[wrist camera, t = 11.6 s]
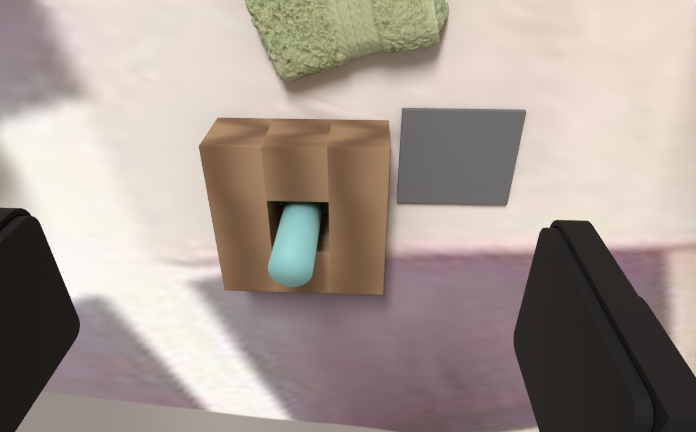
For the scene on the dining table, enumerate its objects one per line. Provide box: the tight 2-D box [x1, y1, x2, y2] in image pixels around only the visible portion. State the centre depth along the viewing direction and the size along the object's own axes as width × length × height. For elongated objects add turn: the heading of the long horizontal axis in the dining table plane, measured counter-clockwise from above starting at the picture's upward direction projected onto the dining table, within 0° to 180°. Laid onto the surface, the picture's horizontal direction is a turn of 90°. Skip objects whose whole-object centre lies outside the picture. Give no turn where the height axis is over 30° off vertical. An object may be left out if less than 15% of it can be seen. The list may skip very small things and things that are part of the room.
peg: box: [268, 201, 324, 287], centre depth 37 cm, size 3×3×10 cm
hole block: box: [199, 118, 390, 295], centre depth 40 cm, size 13×13×5 cm
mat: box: [397, 108, 526, 205], centre depth 39 cm, size 9×8×1 cm
